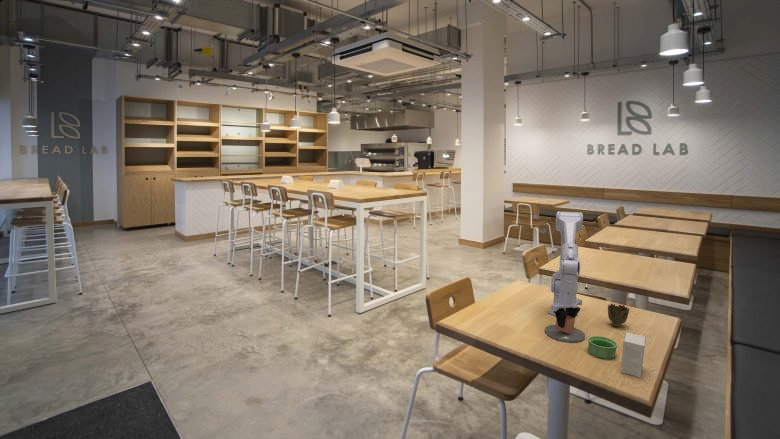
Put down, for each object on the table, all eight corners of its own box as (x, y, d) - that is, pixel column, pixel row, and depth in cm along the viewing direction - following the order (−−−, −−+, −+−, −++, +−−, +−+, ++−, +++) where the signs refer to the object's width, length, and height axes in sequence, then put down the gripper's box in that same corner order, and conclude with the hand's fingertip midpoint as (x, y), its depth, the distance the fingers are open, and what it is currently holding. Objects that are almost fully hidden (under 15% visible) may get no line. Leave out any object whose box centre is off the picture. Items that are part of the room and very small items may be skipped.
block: (562, 325, 156) (563, 313, 155) (573, 330, 152) (575, 318, 151) (555, 327, 154) (556, 315, 154) (566, 332, 150) (567, 320, 149)
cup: (626, 324, 163) (628, 305, 162) (628, 331, 156) (630, 311, 155) (605, 321, 166) (607, 302, 165) (606, 327, 159) (608, 308, 158)
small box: (622, 361, 133) (625, 331, 131) (642, 367, 130) (646, 336, 128) (620, 372, 127) (623, 340, 125) (641, 378, 123) (644, 345, 122)
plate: (562, 324, 163) (562, 322, 162) (593, 338, 150) (593, 336, 150) (536, 330, 156) (536, 328, 156) (567, 345, 144) (567, 343, 144)
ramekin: (605, 362, 133) (606, 349, 132) (581, 350, 141) (582, 338, 140) (622, 356, 137) (623, 344, 136) (598, 345, 145) (599, 333, 144)
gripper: (563, 297, 144) (560, 333, 146) (590, 291, 150) (587, 326, 152) (547, 291, 150) (544, 326, 152) (574, 286, 157) (571, 319, 159)
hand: (565, 325), depth 153 cm, fingers closed on block, 4 cm apart
